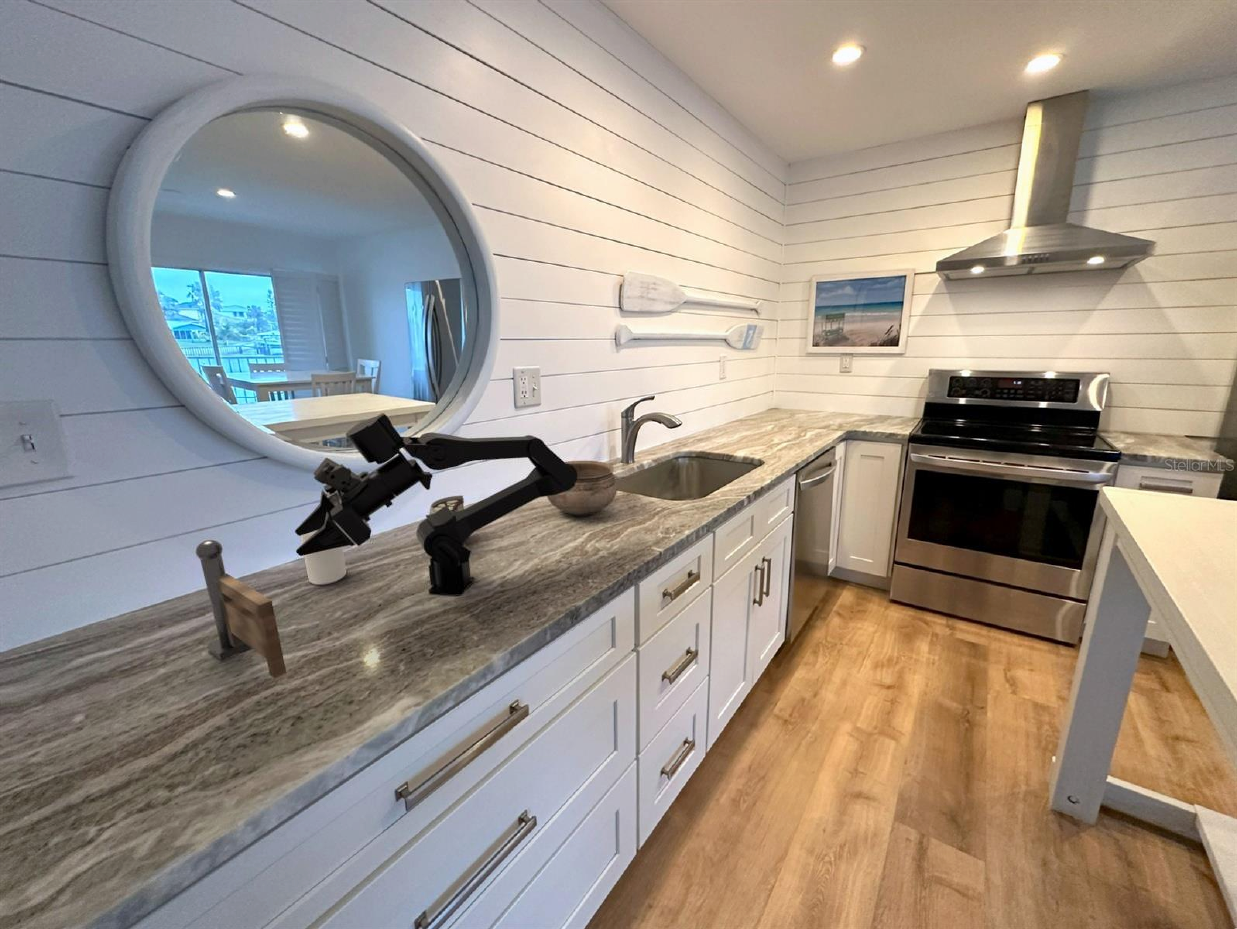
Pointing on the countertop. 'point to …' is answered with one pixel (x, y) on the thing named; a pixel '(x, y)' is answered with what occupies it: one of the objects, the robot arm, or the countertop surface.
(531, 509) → the countertop surface
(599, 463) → the cooking pot
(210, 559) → the gate post
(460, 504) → the food container
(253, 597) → the gate
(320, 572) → the can
